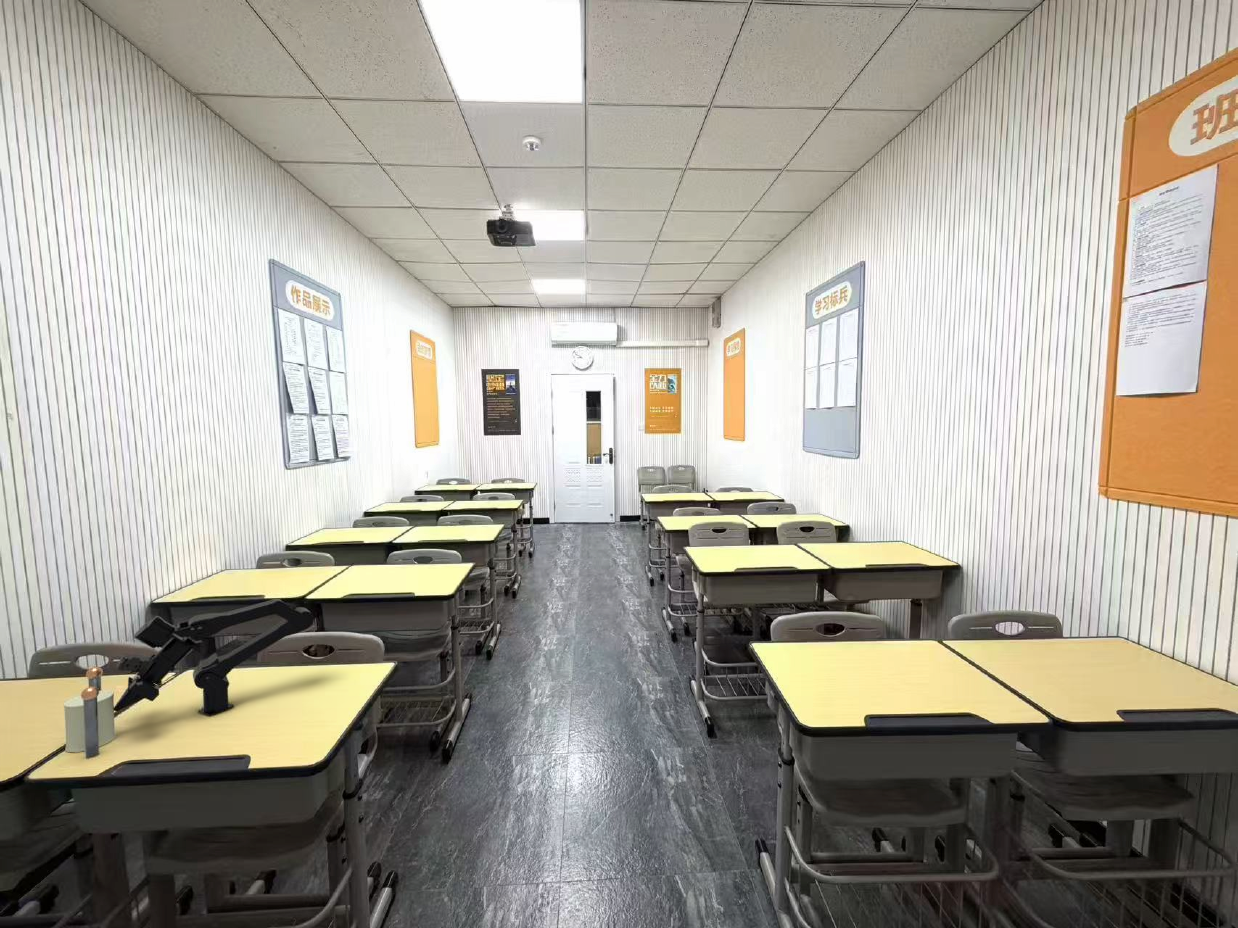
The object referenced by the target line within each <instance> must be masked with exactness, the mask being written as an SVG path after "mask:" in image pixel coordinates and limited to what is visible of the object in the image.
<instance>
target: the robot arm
mask: <svg viewBox="0 0 1238 928" xmlns="http://www.w3.org/2000/svg"><path fill="white" fill-rule="evenodd" d="M272 615H276V616H278V617H280V618H281V620H279V622H278V623H277V624H276V625H274V626H272V627H271V628H269V629H267V630H266V631H264V632H262V633H261V634H258V635H257V636H256V637H253V638H252V639H250V640H249V641H247V642H245V643H244V644H241V645H240V646H238V647H237V648H235V649H233V650H232V651H230V652H228V653H226V654H223V655H220V656H218V655H217V653H216V652H215V653H212V654H211V655H210V656H209V657H207V658H205V659H203V660H200V661H199V664H198V665H196V666H195V668H194V669H193V672H192V679H193V682H194V684H195V687H197V688H198V689H201V690H202V700H203V701H202V703H203V707H202V708H200V709H198V710H197V713H199V714H202V715H205V716H208V717H212V716H215V715H218V714H219V713H222V712H224V711H227V710H229V709H232V708H235V705H234V704H232V703H229V686H230V681H229V678H228V674H230V672H231V671H232V670H233V669H235V668H237V666H239V665H240V664H242V663H243V662H245V661H247V660H249V659H252V658H253V657H254V656H256V655H257V654H259V653H260V652H262V651H265V649H268V648H269V647H271V646H272V645H273V644H275V643H277V642H279V641H280V640H282V639H284V638H285V637H289V636H292V635H293V636H294V635H296V634H298V633H301V632H303V631H306V630H308V629H309V628H311V627H312V625H314V622H315V617H314V614H313V613H312V612H311V611H310V610H308V609H307V608H306V607H303V606H301V607H300V606H299V607H295V606H294V605H292V604H289V603H287V602H285V601H282V600H281V599H280V598H271V599H270V600H267V601H263V602H260V603H256V604H252V605H248V606H245V607H241V608H236V609H232V610H229V611H225V612H209V613H203V614H197V615H194V616H192V617H191V618H190V619H189V620H187V621H183V622H180V623H179V622H178V623H174V624H171V623H169V622H168V621H166V620H164V619H163V618H162V617H161V616H159V615H155V617H153V618H152V619H150V620H149V621H148V622H146V623H144V624H143V625H142V626H141V627H140V628H139V629H138V630H137V631H136V632H135V634H133V635H132V636H133V639H136V640H137V641H139V642H140V643H142V644H144V645H146V646H148V647H150V648H151V649H156V648H157V649H160V648H161V649H160V650H159V651H158V652H155V653H152V654H151V655H150V656H149V657H148V656H144V655H138V654H132V653H127V652H126V653H125V652H124V653H123V654H122V656H121V657H120V659H119V661H118V663H117V665H116V670H118V671H123V672H124V671H127V672H129V673H131V674H133V673H135V675H134V676H133V677H130V676H128V677H127V680H128V681H127V688H126V689H125V691H124V692H123V694H122V695H121V696H120V699H119V700H117V702H116V704H114V712H116V713H117V712H120V711H121V710H123V709H125V708H128V707H129V706H131V705H134V704H136V703H138V702H139V701H142V700H144V699H146V700H148V701H149V702H153V701H155V700H156V698H158V697H159V696H160V687H159V686H160V685H161V684H162V683H163V680H164V678H165V677H166V676H168V674H169V673H170V672H174V671H175V670H176V669H177V668H176V667H177V665H178V664H179V663H181V662H182V660H184V658H186V656H187V655H188V654H189V653H191V652H192V651H195V652H197V653H201V652H202V644H203V641H202V640H204V639H207V638H209V637H212V636H214V635H216V634H218V633H220V632H222V631H224V630H225V629H227V628H230V627H232V626H236V625H239V624H243V623H247V622H250V621H251V622H252V621H254V620H258V619H261V618H265V617H267V616H268V617H269V616H272ZM193 639H194V640H193Z"/></svg>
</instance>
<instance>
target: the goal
mask: <svg viewBox="0 0 1238 928" xmlns="http://www.w3.org/2000/svg"><path fill="white" fill-rule="evenodd" d="M103 672H104V671H103V668H101V667H100V666H92V667H90V668H89V669H88V670H87V671H86V674H85V677H86V678H87V679H88V680H87V681H88V687H85V688H84V689H83V690H82V691H81V693H80V695H81V698H82V699H83V704H84V730H85V751H84V752H85V753H84V754H85V759H92V758H95V757H97V756H98V755H100V747H99V733H98V707H97V696H98V695H99V691H102V675H103Z"/></svg>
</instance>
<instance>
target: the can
mask: <svg viewBox="0 0 1238 928" xmlns="http://www.w3.org/2000/svg"><path fill="white" fill-rule="evenodd" d="M114 694H115V692H114V691H113V690H109V689H108V690H105V689H104V690H101V691H99V695H98V696H97V707H98V733H99V748H100V747H103V746H105V745H107V744H108V743H110V742H112V741H113V740H115V738H116V736H117V733H116V729H115V728H116V727H115V711H114V707H115V704H114V700H115V699H114ZM63 708H64V709H63V710H64V721H65V723H64V725H65V750H64V751H66V753H70V752H75V753H82V751H83V752H85V730H84V704H83V699H82V698H81V694H79V695H76V696H75V697H72V698H70V699H68V700H67V701H65V702H64V703H63Z"/></svg>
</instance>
